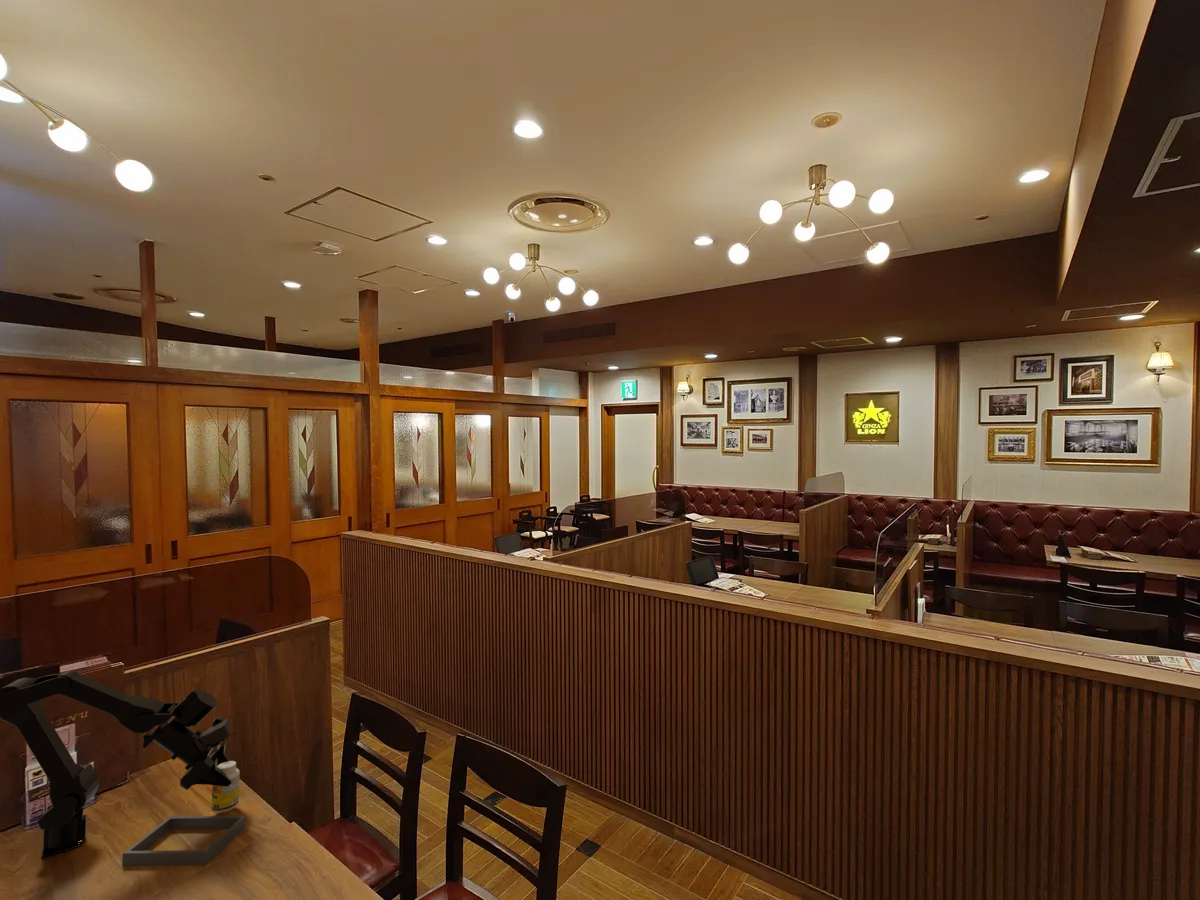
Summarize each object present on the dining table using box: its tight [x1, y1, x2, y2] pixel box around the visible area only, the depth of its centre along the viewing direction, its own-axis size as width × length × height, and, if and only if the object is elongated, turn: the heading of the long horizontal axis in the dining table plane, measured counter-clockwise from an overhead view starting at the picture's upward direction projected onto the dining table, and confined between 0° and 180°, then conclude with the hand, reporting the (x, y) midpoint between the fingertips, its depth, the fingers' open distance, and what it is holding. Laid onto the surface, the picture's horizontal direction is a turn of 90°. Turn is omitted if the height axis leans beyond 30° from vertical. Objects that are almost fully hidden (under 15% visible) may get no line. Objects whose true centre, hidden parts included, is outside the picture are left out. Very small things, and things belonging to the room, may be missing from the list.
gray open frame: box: [121, 815, 247, 867], centre depth 124 cm, size 18×13×2 cm
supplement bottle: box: [211, 760, 241, 813], centre depth 137 cm, size 6×6×10 cm
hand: (232, 778), depth 138 cm, fingers closed on supplement bottle, 5 cm apart
